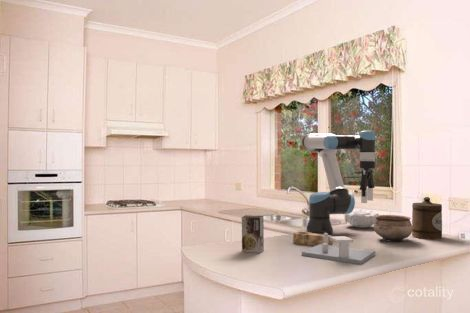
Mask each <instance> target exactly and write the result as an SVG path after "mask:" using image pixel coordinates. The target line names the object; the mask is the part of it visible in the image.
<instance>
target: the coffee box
mask: <svg viewBox="0 0 470 313" xmlns="http://www.w3.org/2000/svg"><path fill="white" fill-rule="evenodd" d="M264 226H265V225H264V215H251V214H250V215H249V214H247V215H246V214H245V215H244V216H241V253H242V252H243V253H256V254H257V253H258V254H261V253H263V252H264V251H265V244H264V243H265V242H264V240H265V239H264V234H265V233H264V232H265V231H264Z"/></svg>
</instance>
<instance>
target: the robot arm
mask: <svg viewBox="0 0 470 313" xmlns="http://www.w3.org/2000/svg"><path fill="white" fill-rule="evenodd" d="M301 138H302V139H301V146H302V148H303V149H304V150H305V151H309V152H317V153H318V156H319V157H320V158H322V162H323V167H324V171H325V176H326V180H327V183H328V188H329V191H319V192H313V193H311V194H309V198H308V207H309V208H308V212H309V214H308V219H309V220H308V222H307V226H306V229H305V232H310V233H315V234H323V235H324V233H328V235H333V234H334V229H333V226H332V222H331V220H330V218H331V216H330V215H345V214H349V213H351V212H352V211H354V209H355V204H356V199H355V196H354V195H353V194H352V193H350V192H349V190H348V188H346V187H345V185H344V181H343V177H342V174H341V170H340V166H339V162H338V159H337V156H336V155H337V152H338V150H352V151H353V150H355V151H357V150H359V160H360V161H359V169H363V170H361V179H360V186H359V190H360V191H361V192H360V193H361V194H360V196H361V197H360V202H361V204H368V201H370V202H371V201H372V202H373V201H374V189H375V187H376V186H375V184H374V175H373V173H374V172H373V169H375V168H376V162H375V160H376V156H377V154H376V132H375V131H374V130H361V131H360V132H359V135H341V134H340V135H339V134H338V135H336V134H334V133H330V132H326V133H322V132H321V133H317V132H312V133H307V134H304V136H303V137H301Z"/></svg>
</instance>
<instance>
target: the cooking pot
mask: <svg viewBox="0 0 470 313" xmlns="http://www.w3.org/2000/svg"><path fill="white" fill-rule="evenodd" d="M375 217H376V220H375V223H374V224H373V230H374V232H375V233H376V234H377V235H378V236H379V237H381V238H382V239H384V240H385V241H387V242H396V243H397V242H401V241H402V240H405V239H407V238H408V237H410V236H411V235H412V230H413V228H412V221H411V220H412V217H410V216H405V215H396V214H379V215H377V216H375Z"/></svg>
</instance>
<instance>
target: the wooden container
mask: <svg viewBox="0 0 470 313" xmlns="http://www.w3.org/2000/svg"><path fill="white" fill-rule="evenodd" d="M411 206H412V210H411V211H412V216H411V224H412V228H413V230H412V233H411V236H412V237H413V238H417V239H422V240H440V239H442V238H443V212H442V211H443V205H442V203H441V204H440V203H436V202H435V203H434V202H432V201H431V198H430V197H429V196H425V197H423V201H422V202H413V203H412V205H411Z"/></svg>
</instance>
